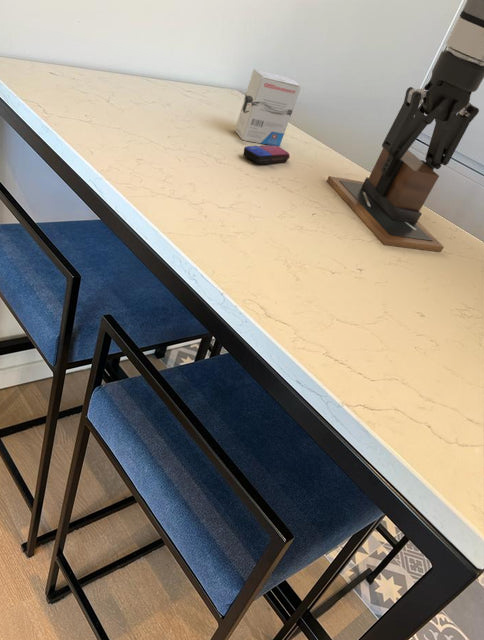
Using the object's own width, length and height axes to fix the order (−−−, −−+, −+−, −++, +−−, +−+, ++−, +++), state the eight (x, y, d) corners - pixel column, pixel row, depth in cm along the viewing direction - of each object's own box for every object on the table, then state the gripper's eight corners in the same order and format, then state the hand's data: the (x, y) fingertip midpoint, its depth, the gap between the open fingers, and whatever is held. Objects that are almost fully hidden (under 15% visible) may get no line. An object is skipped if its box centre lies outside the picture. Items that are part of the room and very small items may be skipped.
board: (440, 252, 96) (444, 246, 95) (384, 244, 91) (387, 238, 90) (378, 189, 111) (381, 184, 110) (326, 180, 106) (329, 175, 105)
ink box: (271, 137, 116) (292, 77, 109) (280, 147, 113) (302, 86, 106) (233, 129, 112) (252, 67, 105) (241, 140, 109) (262, 76, 102)
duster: (417, 224, 99) (442, 178, 94) (392, 220, 97) (417, 173, 92) (383, 191, 108) (405, 147, 102) (360, 187, 105) (381, 142, 100)
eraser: (275, 152, 110) (278, 143, 109) (291, 162, 108) (294, 153, 107) (238, 154, 102) (241, 145, 101) (254, 165, 100) (258, 155, 99)
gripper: (495, 62, 93) (423, 192, 107) (406, 34, 86) (341, 178, 100) (525, 78, 88) (445, 212, 102) (433, 50, 81) (361, 199, 95)
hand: (394, 195), depth 101 cm, fingers closed on duster, 5 cm apart
